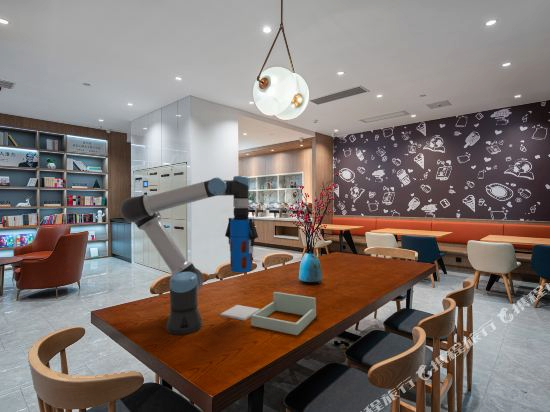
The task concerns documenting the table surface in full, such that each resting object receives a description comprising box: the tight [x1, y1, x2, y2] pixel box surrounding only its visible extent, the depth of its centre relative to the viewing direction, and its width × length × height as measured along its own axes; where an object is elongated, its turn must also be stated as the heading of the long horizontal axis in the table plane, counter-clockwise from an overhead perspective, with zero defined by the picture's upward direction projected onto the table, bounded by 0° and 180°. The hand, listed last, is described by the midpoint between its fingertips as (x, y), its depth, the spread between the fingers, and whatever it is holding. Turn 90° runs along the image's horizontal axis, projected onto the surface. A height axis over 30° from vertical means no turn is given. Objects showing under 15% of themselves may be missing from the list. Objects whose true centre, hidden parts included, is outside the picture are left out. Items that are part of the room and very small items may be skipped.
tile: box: [220, 304, 261, 321], centre depth 148 cm, size 14×14×1 cm
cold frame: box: [250, 291, 317, 336], centre depth 138 cm, size 22×22×9 cm
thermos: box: [229, 219, 253, 273], centre depth 147 cm, size 11×11×25 cm
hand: (241, 251), depth 147 cm, fingers closed on thermos, 11 cm apart
